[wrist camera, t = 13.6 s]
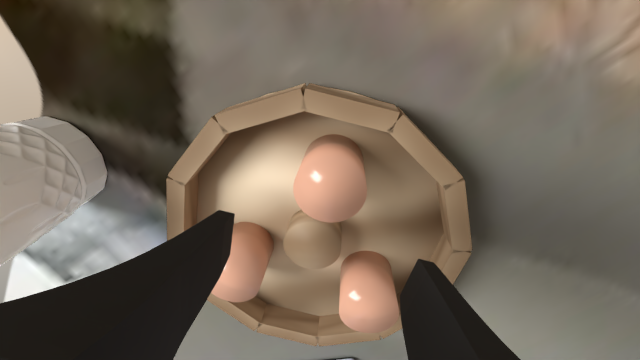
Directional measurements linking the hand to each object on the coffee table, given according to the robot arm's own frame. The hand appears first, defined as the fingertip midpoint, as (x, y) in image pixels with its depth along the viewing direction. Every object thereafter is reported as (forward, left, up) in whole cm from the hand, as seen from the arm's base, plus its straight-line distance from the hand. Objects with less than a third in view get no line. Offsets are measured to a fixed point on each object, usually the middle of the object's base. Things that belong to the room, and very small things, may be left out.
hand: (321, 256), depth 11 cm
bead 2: (0, 0, -9) cm, 9 cm away
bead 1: (-5, +8, -9) cm, 13 cm away
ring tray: (-5, +3, -10) cm, 11 cm away
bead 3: (-9, 0, -9) cm, 13 cm away
